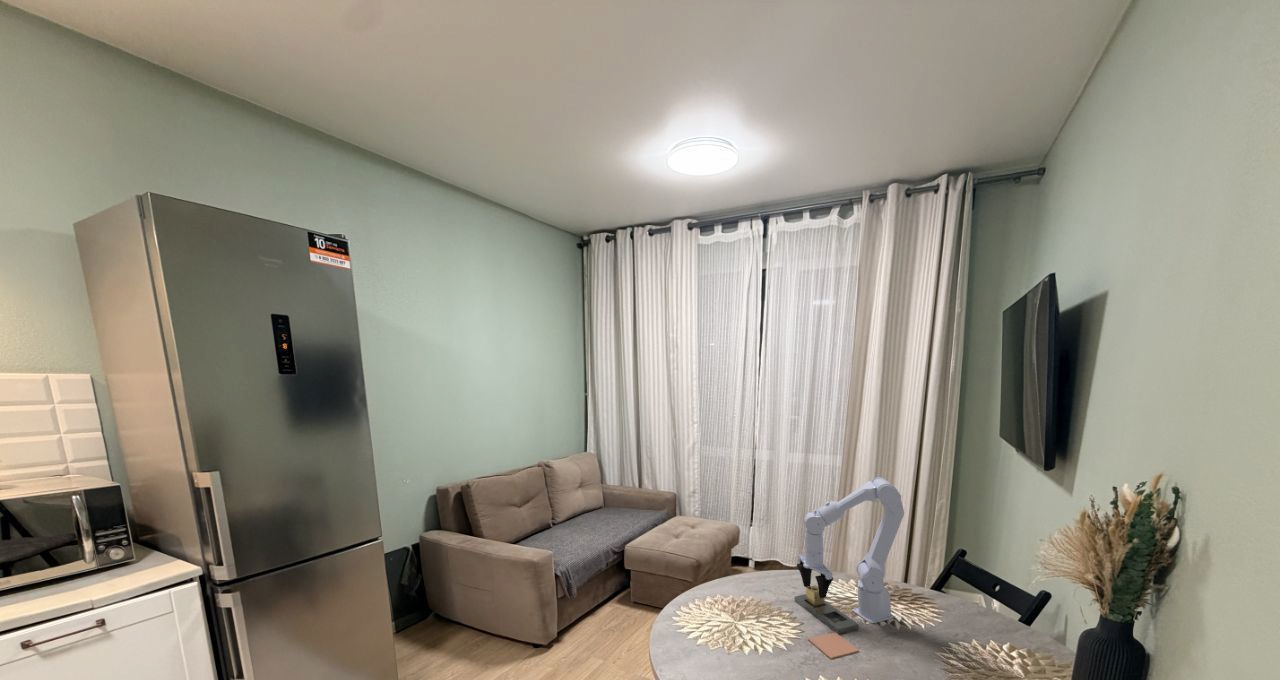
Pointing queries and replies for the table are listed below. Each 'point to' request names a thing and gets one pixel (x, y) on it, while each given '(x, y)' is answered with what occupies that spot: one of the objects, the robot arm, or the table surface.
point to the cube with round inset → (814, 597)
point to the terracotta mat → (833, 645)
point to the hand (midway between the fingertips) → (814, 591)
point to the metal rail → (829, 611)
